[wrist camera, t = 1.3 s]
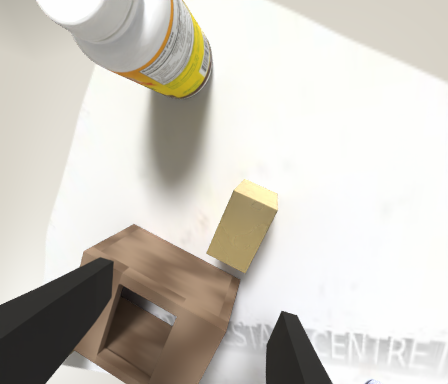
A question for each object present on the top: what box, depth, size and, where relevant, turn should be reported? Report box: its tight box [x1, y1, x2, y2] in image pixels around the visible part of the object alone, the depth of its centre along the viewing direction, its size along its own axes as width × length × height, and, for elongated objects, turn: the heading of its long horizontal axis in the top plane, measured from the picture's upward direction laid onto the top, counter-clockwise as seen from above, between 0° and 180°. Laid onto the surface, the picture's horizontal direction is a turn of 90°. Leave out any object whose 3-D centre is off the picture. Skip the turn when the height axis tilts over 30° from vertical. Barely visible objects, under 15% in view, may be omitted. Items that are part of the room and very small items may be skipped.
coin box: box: [73, 224, 240, 384], centre depth 20 cm, size 12×10×6 cm
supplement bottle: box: [36, 0, 212, 99], centre depth 13 cm, size 6×6×10 cm
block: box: [206, 179, 278, 273], centre depth 16 cm, size 3×5×5 cm, turn 157°
